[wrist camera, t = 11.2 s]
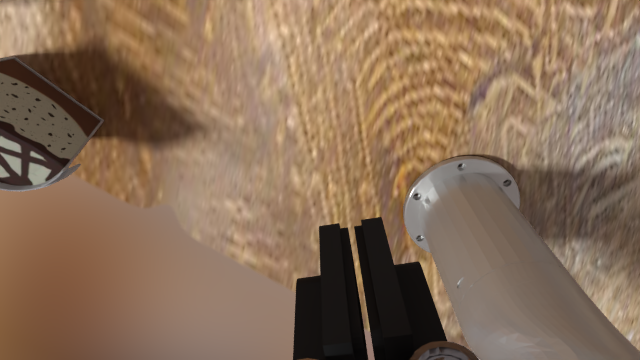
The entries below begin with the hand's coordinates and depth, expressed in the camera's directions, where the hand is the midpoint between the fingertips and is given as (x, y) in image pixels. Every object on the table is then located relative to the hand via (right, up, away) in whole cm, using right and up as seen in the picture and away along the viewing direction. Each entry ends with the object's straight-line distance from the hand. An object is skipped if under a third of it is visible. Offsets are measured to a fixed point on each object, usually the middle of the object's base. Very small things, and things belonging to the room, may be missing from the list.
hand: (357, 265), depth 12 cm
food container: (-28, +9, +31) cm, 43 cm away
